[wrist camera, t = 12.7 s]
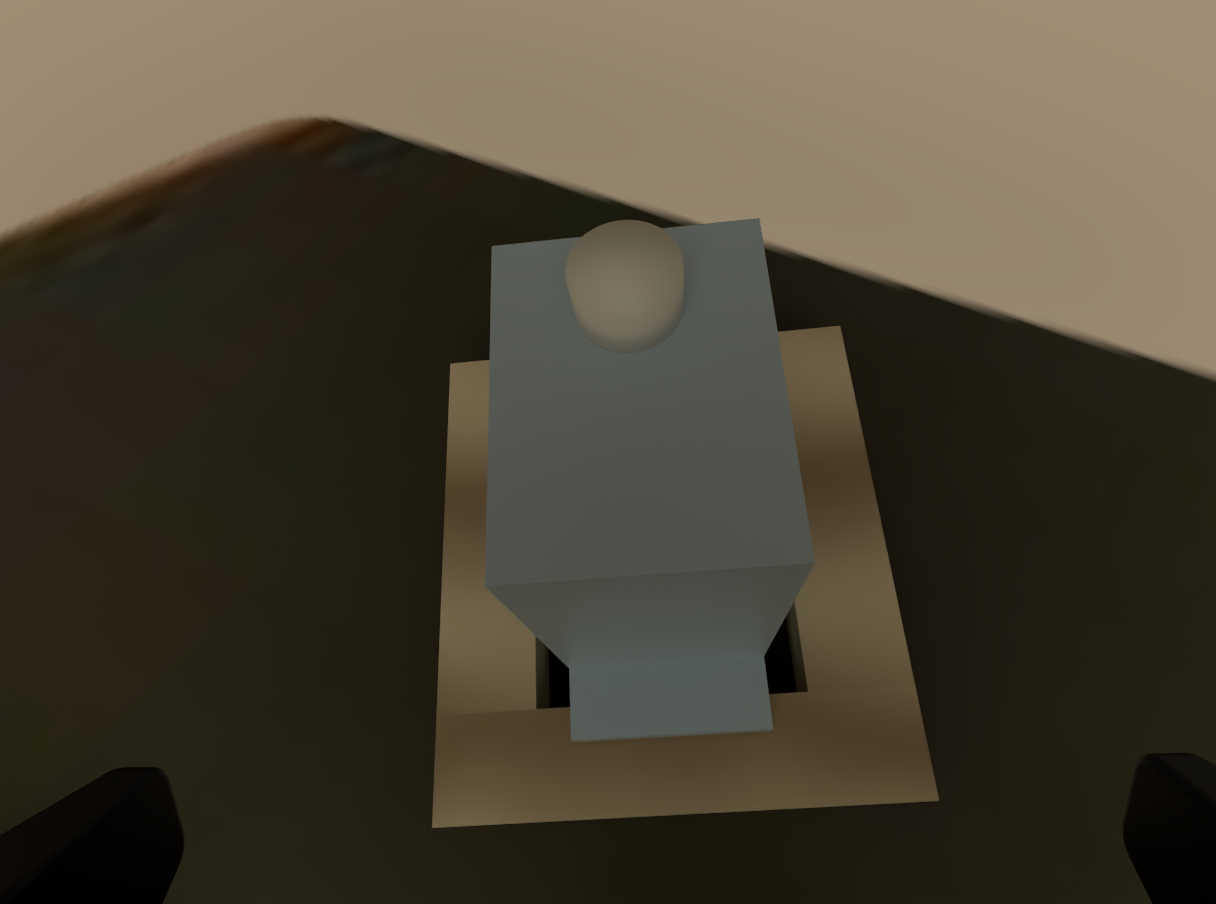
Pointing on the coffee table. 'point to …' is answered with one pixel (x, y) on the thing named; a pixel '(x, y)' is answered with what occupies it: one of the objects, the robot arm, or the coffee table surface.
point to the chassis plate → (701, 764)
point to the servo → (645, 472)
